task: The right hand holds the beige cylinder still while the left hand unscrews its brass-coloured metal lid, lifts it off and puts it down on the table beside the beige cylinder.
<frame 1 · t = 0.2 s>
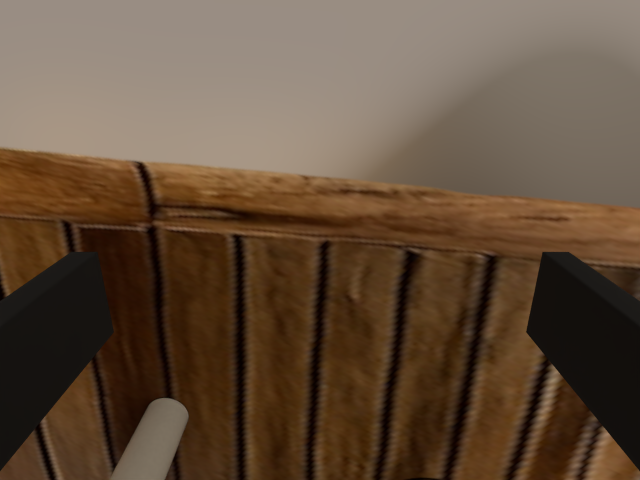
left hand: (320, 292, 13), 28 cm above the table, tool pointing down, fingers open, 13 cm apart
beige cylinder: (167, 414, 50), on the table
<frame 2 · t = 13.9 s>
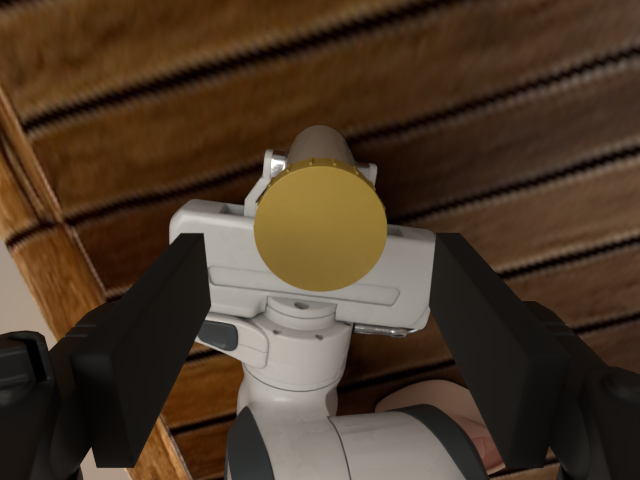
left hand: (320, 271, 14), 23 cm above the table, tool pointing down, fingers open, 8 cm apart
beige cylinder: (319, 155, 36), on the table, touching right hand
lid: (320, 229, 18), point 19 cm above the table, screwed on, not yet turned
anatomical model: (435, 420, 46), on the table
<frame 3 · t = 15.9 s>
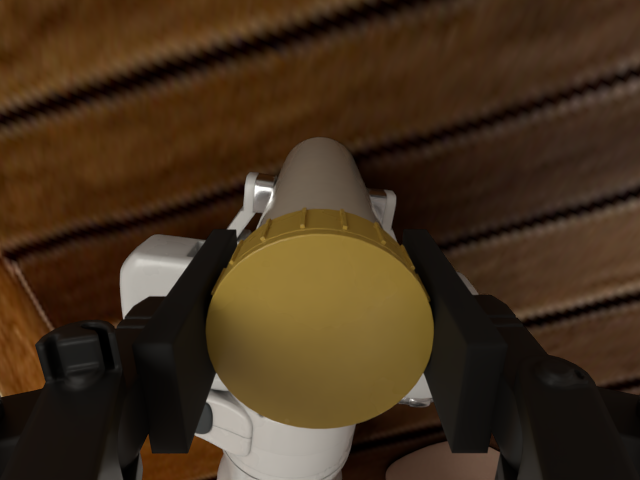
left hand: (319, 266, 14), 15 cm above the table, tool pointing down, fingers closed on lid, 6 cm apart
beige cylinder: (319, 174, 28), on the table, touching right hand
lid: (319, 333, 11), point 19 cm above the table, screwed on, not yet turned, touching left hand
when the left hand's fingers open (15 cm above the table, at t = 17.0 s): lid stays where it is, point 19 cm above the table.
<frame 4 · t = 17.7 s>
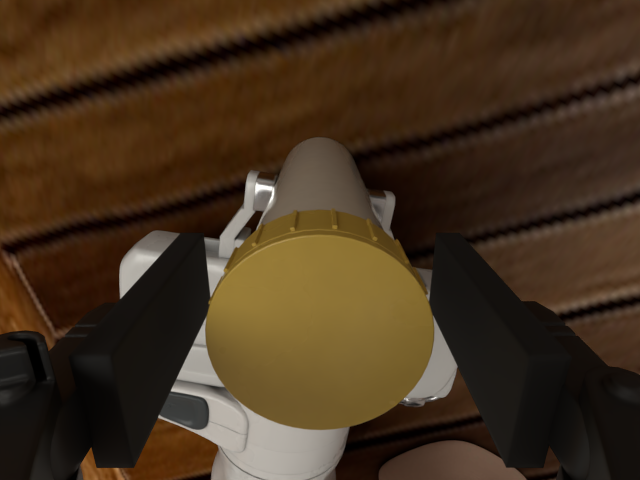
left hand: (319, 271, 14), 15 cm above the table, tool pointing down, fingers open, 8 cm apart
beige cylinder: (319, 174, 28), on the table, touching right hand
lid: (319, 334, 11), point 19 cm above the table, turned 66° so far, risen 0.2 cm, still on its thread
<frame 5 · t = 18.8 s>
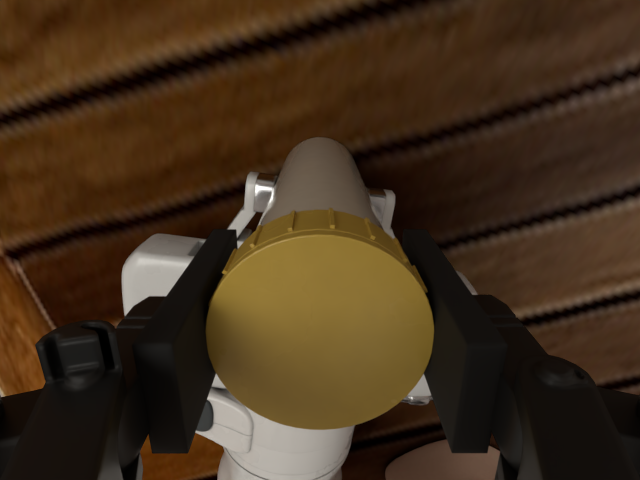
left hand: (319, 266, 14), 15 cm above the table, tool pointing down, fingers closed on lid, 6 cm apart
beige cylinder: (319, 174, 28), on the table, touching right hand
lid: (319, 334, 11), point 19 cm above the table, turned 66° so far, risen 0.2 cm, still on its thread, touching left hand
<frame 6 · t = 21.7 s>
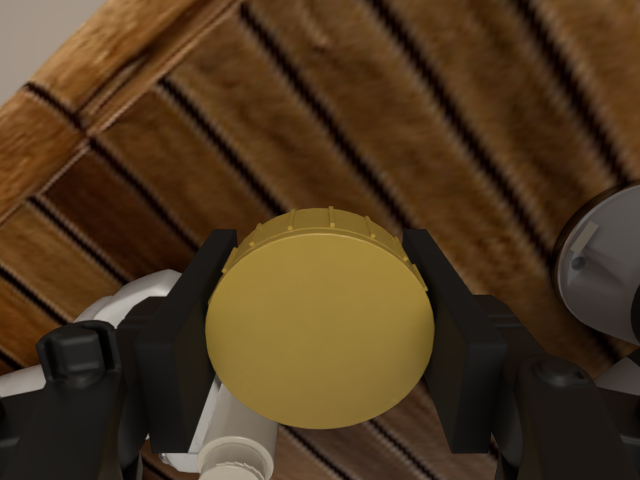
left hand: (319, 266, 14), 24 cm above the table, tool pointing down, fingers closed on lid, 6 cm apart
beige cylinder: (266, 323, 43), on the table, touching right hand
lid: (319, 333, 11), point 28 cm above the table, off its thread, touching left hand
when the left hand's fingers open (0 cm above the table, at t = 24.6 s): lid drops 3 cm, point 2 cm above the table.
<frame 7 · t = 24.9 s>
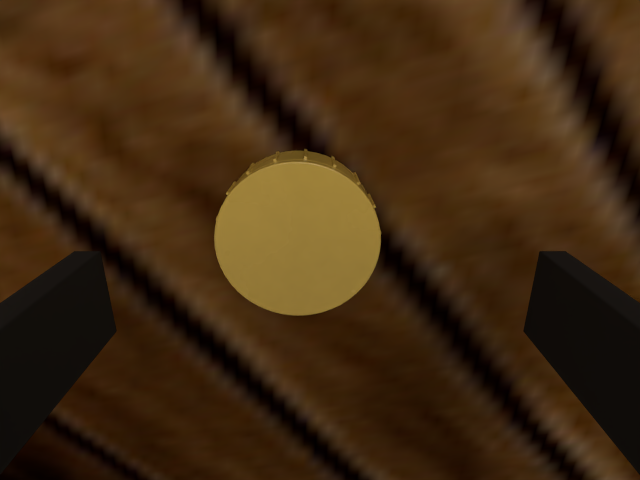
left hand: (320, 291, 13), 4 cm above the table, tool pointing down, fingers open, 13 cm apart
lid: (298, 240, 14), point 2 cm above the table, off its thread
when the right hand's fingers open (6 cm above the table, at t = 25.3 s): beige cylinder stays where it is, on the table.
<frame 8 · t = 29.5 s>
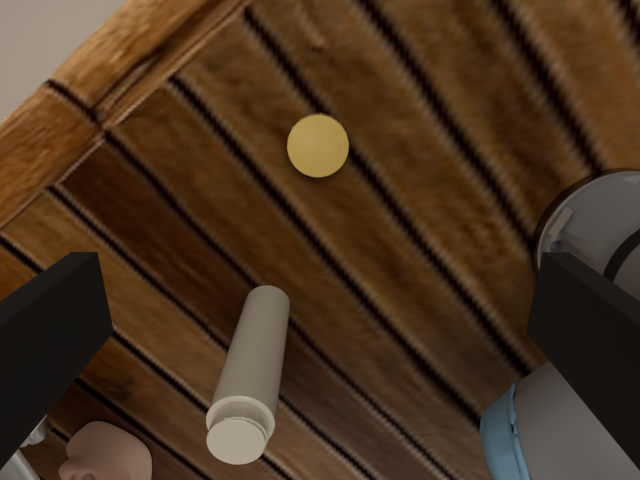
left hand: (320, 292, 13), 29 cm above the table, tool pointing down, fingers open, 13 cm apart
beige cylinder: (267, 305, 46), on the table
lid: (317, 146, 39), point 2 cm above the table, off its thread
anatomical model: (111, 461, 55), on the table
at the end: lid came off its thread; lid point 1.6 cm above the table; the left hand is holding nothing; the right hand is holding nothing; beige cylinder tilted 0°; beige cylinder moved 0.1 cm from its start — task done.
